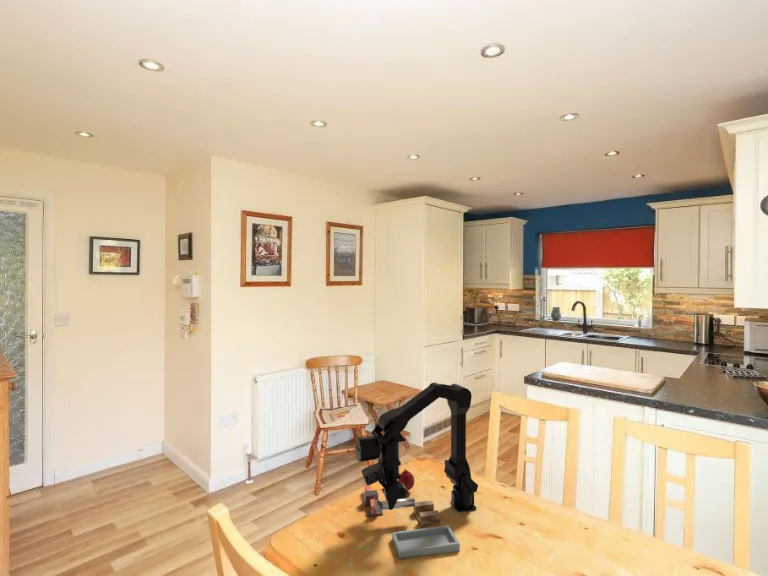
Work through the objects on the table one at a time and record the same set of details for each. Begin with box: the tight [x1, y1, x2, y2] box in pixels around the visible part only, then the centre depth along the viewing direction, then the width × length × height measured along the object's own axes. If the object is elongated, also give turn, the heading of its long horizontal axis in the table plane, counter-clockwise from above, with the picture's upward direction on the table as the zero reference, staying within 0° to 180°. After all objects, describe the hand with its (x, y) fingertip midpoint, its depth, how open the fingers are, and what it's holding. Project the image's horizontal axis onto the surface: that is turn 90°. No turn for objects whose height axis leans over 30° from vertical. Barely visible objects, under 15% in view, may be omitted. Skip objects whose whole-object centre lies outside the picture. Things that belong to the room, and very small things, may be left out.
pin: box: [374, 497, 416, 513], centre depth 124 cm, size 12×3×3 cm, turn 102°
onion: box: [397, 468, 415, 492], centre depth 142 cm, size 6×6×8 cm
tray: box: [391, 524, 461, 560], centre depth 113 cm, size 17×9×2 cm, turn 102°
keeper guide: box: [362, 489, 384, 517], centre depth 131 cm, size 5×8×4 cm, turn 12°
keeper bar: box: [364, 483, 378, 514], centre depth 134 cm, size 2×16×2 cm, turn 12°
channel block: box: [413, 500, 441, 527], centre depth 126 cm, size 6×8×3 cm
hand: (389, 507), depth 124 cm, fingers closed on pin, 2 cm apart
